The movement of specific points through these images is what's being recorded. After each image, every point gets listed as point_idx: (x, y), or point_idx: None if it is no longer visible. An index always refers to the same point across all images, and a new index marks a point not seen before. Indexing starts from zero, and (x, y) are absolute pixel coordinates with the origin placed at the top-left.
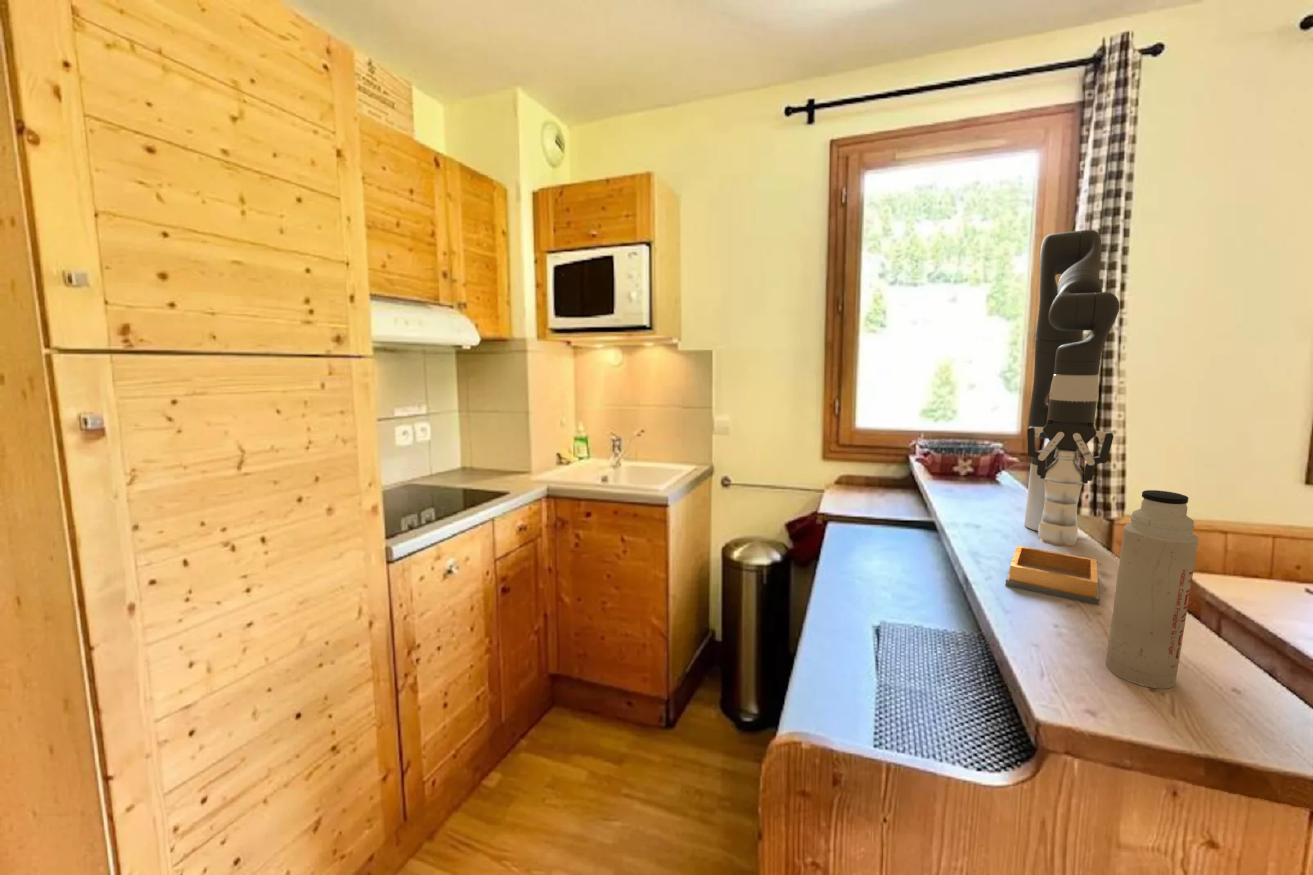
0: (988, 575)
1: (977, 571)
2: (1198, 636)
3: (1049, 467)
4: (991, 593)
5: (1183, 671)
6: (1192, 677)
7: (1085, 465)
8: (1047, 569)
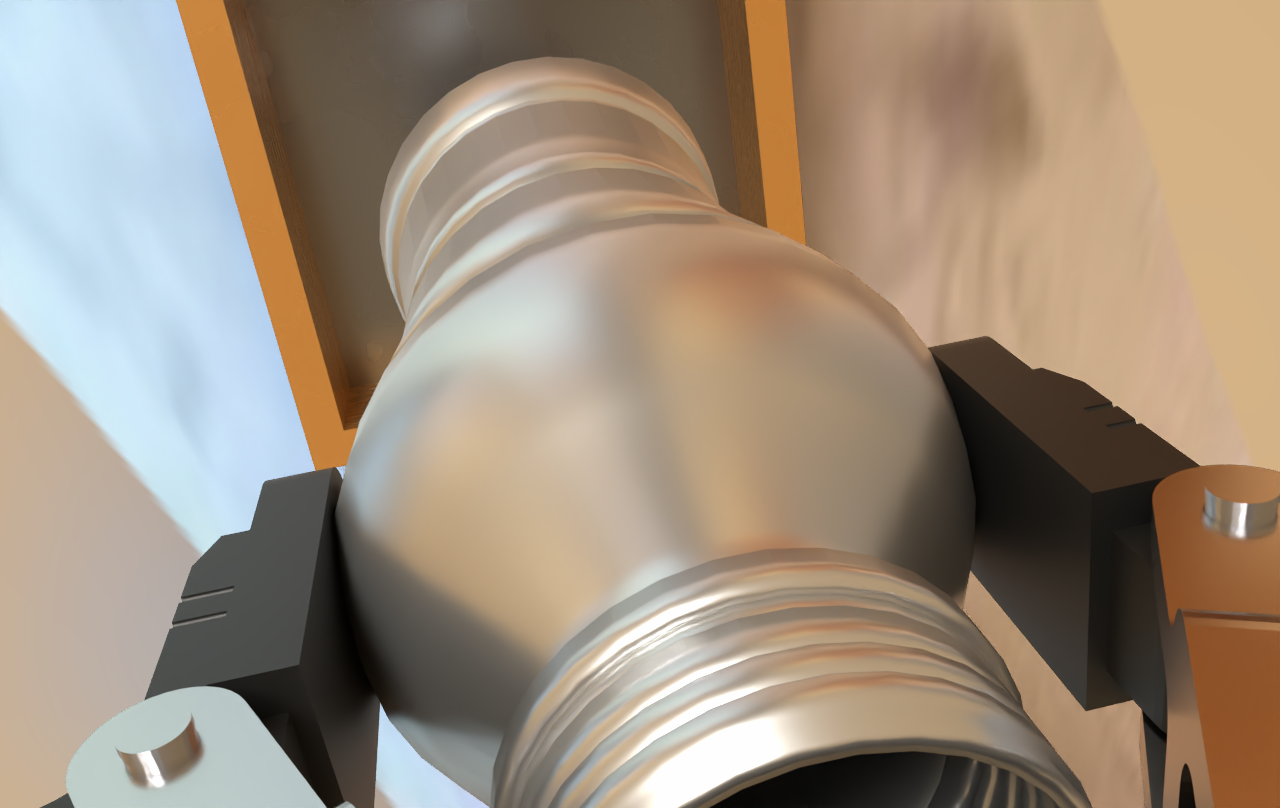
0: (164, 339)
1: (74, 321)
2: (1173, 369)
3: (444, 766)
4: None
5: (1073, 731)
6: (1093, 751)
7: (1087, 708)
8: (453, 19)
